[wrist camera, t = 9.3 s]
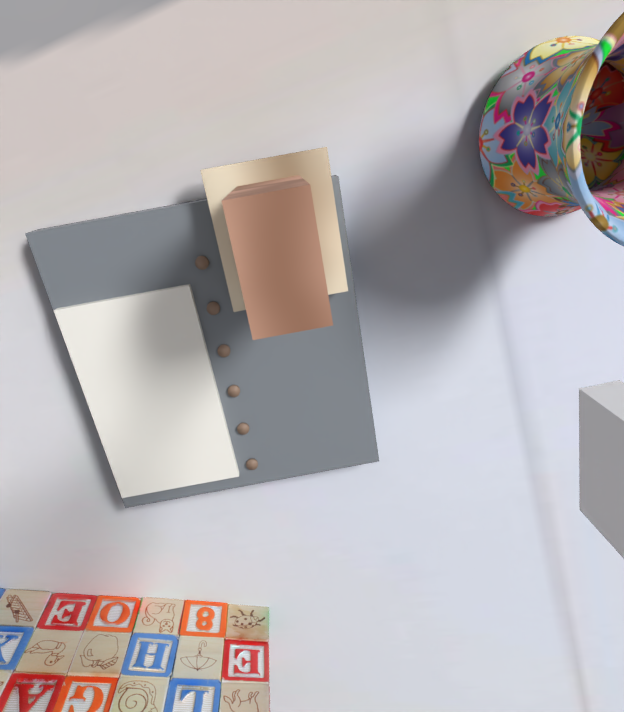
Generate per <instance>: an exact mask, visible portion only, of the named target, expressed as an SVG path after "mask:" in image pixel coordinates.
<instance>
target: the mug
mask: <svg viewBox="0 0 624 712" xmlns="http://www.w3.org/2000/svg"><path fill="white" fill-rule="evenodd" d="M479 151H480V158H481V162H482V166H483V169H484V172H485V175H486V177H487V179H488V181H489V183H490V184H491V186H492V187H493V189H494V190H495V191H496V193H497V194H498V195H499V196H500V197H501V198H502V199H503V200H504V201H505V202H507V203H508V204H509V205H511V206H512V207H514V208H516V209H518V210H520V211H522V212H525V213H528V214H532V215H537V216H557V215H563V214H567V213H571V212H574V211H576V210H579V209H581V208H582V210H583V211H584V213H585V214H586V216H587V217H588V218H589V220H590V221H591V222H592V223H593V224H594V225H595V226H596V228H598V229H599V230H600V231H601V232H602V233H603V234H604V235H606V236H607V237H608V238H610V239H611V240H613V241H614V242H616V243H618V244H620V245H622V246H624V12H623V13H622V15H621V16H620V17H619V18H618V19H617V20H616V21H615V22H614V23H613V24H612V26H611V27H610V28H609V30H608V31H607V32H606V33H605V35H604V36H603V37H602V39H601V40H597V39H594V38H589V37H584V36H565V37H559V38H555V39H552V40H549V41H546V42H544V43H541V44H539V45H537V46H535V47H533V48H532V49H530V50H529V51H527V52H526V53H524V54H523V55H522V56H521V57H519V58H518V59H517V60H516V61H515V62H514V63H513V64H512V65H511V66H510V67H509V68H508V69H507V70H506V71H505V72H504V74H503V75H502V76H501V78H500V79H499V80H498V82H497V84H496V85H495V87H494V88H493V90H492V92H491V94H490V96H489V98H488V101H487V103H486V105H485V109H484V112H483V115H482V119H481V124H480V131H479Z"/></svg>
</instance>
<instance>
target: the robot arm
mask: <svg viewBox="0 0 624 712" xmlns="http://www.w3.org/2000/svg"><path fill="white" fill-rule="evenodd" d="M579 476H580V511H581V512H582V513H583V514H584V515H585V516H586V517H587V518H588V520H589V521H590V522H591V523H592V524H593V525H594V526H595V527H596V528H597V529H598V531H599V532H600V533H601V534H602V535H603V536H604V537H605V538H606V539H607V541H608V542H609V543H610V544H611V545H612V546H613V547H614V548H615V549H616V551H617V552H618V553H619V554H620V555H621V556H622V557H623V558H624V383H623V382H621V381H620V380H618V381H613V382H608V383H604V384H599V385H594V386H589V387H585V388H580V389H579Z"/></svg>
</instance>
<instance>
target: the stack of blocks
mask: <svg viewBox="0 0 624 712" xmlns="http://www.w3.org/2000/svg"><path fill="white" fill-rule="evenodd" d="M268 642H269V607H261V606H248V605H235V604H227V603H220V602H206V601H193V600H179V599H167V598H152V597H143V598H136V597H117V596H101V595H100V596H95V595H81V594H65V593H52V592H46V591H31V590H16V589H3V588H0V712H270V687H269V644H268Z"/></svg>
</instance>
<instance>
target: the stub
mask: <svg viewBox="0 0 624 712" xmlns="http://www.w3.org/2000/svg"><path fill="white" fill-rule="evenodd" d="M201 175H202V179H203V183H204V188H205V192H206V196H207V200H208V205H209V209H210V213H211V217H212V222H213V226H214V230H215V235H216V239H217V243H218V247H219V252H220V256H221V260H222V265H223V269H224V273H225V277H226V282H227V286H228V290H229V294H230V299H231V303H232V307H233V312H237V311H242V310H246V312H247V317H248V321H249V325H250V330H251V334H252V339H253V340H257V339H262V338H267V337H273V336H278V335H284V334H289V333H295V332H300V331H306V330H311V329H316V328H322V327H327V326H333V321H332V315H331V309H330V303H329V296H328V295H330V294H335V293H341V292H346V291H348V286H347V279H346V273H345V266H344V259H343V252H342V245H341V239H340V232H339V225H338V218H337V212H336V205H335V198H334V191H333V185H332V178H331V171H330V164H329V158H328V151H327V147H323V148H318V149H312V150H307V151H301V152H296V153H290V154H285V155H279V156H274V157H268V158H263V159H258V160H252V161H247V162H241V163H236V164H230V165H225V166H219V167H214V168H208V169H203V170H201Z"/></svg>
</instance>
